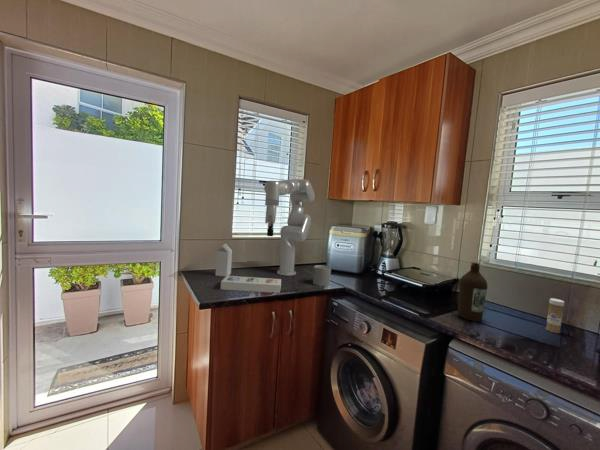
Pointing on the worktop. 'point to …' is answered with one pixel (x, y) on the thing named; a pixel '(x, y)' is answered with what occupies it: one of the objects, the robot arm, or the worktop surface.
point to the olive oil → (472, 294)
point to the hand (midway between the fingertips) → (270, 235)
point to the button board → (251, 284)
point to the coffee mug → (321, 275)
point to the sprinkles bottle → (555, 315)
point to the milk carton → (223, 261)
